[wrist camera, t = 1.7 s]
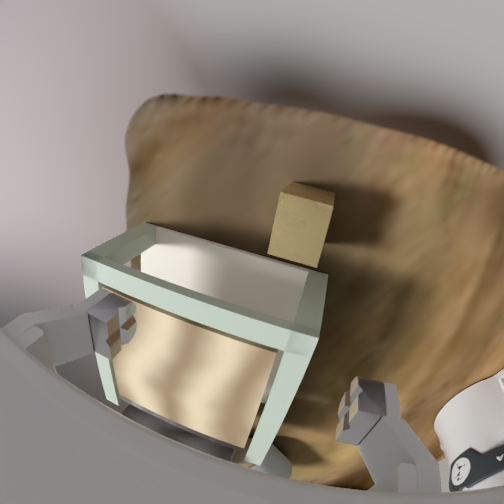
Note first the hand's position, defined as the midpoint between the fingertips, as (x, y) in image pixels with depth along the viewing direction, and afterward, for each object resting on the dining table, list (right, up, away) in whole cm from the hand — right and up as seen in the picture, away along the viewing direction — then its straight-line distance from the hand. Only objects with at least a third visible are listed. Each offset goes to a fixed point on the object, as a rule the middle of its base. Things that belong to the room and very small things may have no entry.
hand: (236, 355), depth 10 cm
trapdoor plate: (-6, -11, +20) cm, 24 cm away
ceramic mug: (+2, -30, +34) cm, 45 cm away
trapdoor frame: (-4, -5, +26) cm, 26 cm away
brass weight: (+6, +7, +18) cm, 20 cm away
